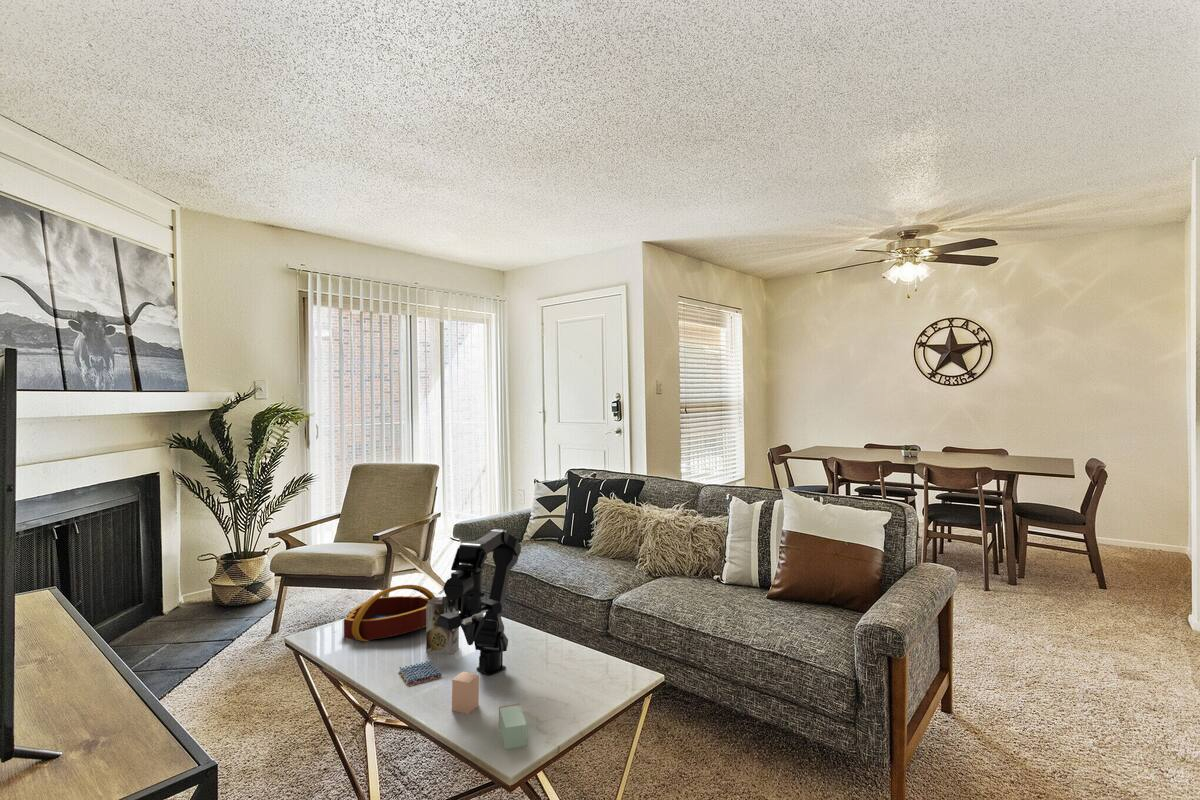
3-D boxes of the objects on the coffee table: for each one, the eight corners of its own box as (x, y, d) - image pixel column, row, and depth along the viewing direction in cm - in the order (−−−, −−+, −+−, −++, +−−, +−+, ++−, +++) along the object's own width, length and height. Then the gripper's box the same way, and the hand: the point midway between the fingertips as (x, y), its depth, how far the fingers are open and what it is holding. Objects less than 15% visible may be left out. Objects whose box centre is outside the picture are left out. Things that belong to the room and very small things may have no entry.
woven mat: (407, 688, 163) (407, 681, 163) (397, 674, 171) (397, 667, 171) (443, 679, 169) (443, 672, 169) (431, 665, 177) (431, 659, 177)
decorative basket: (416, 613, 228) (413, 574, 230) (461, 619, 210) (457, 577, 211) (331, 640, 202) (328, 596, 204) (374, 650, 184) (370, 601, 185)
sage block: (499, 706, 143) (505, 727, 134) (519, 703, 145) (526, 724, 135) (498, 726, 143) (505, 749, 133) (518, 723, 145) (526, 745, 135)
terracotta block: (462, 701, 155) (462, 671, 155) (478, 704, 154) (479, 674, 154) (451, 710, 150) (452, 679, 151) (468, 713, 149) (468, 682, 149)
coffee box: (459, 646, 191) (460, 597, 191) (452, 654, 184) (453, 604, 185) (432, 645, 192) (433, 596, 192) (425, 653, 185) (425, 602, 186)
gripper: (478, 575, 173) (477, 628, 173) (425, 590, 159) (424, 647, 158) (503, 583, 166) (502, 637, 166) (450, 599, 152) (449, 658, 151)
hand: (470, 644), depth 161 cm, fingers closed
